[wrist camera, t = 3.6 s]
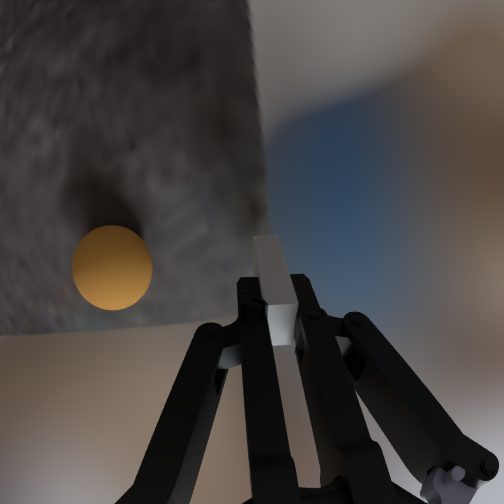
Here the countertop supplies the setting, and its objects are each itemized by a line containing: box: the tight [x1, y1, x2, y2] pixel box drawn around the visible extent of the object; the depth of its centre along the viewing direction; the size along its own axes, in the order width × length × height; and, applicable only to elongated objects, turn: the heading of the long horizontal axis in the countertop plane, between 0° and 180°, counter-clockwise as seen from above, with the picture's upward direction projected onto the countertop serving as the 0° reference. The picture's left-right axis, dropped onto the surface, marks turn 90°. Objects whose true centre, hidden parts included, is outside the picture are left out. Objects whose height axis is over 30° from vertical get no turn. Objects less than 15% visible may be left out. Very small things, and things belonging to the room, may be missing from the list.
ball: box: [72, 225, 152, 310], centre depth 18 cm, size 6×6×6 cm
